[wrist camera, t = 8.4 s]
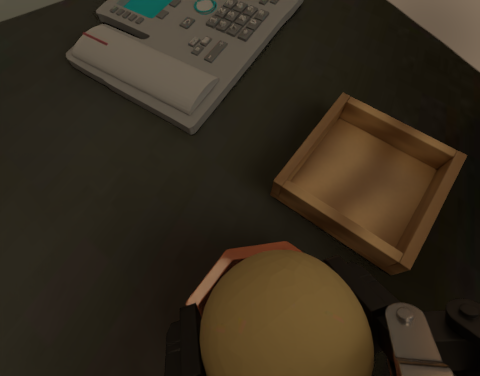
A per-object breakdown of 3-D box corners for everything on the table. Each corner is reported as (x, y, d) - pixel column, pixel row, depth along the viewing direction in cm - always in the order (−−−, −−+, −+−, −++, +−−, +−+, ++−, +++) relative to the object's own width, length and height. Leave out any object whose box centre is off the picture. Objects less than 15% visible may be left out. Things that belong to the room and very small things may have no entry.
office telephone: (190, 121, 25) (34, 41, 29) (195, 138, 27) (50, 61, 32) (307, -21, 32) (170, -66, 37) (303, 2, 35) (174, -43, 39)
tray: (270, 194, 24) (272, 180, 22) (333, 112, 28) (342, 91, 25) (390, 275, 21) (410, 270, 19) (444, 171, 25) (467, 155, 22)
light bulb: (196, 314, 18) (147, 309, 9) (276, 255, 19) (307, 198, 10) (257, 419, 15) (277, 561, 6) (342, 342, 17) (457, 370, 8)
